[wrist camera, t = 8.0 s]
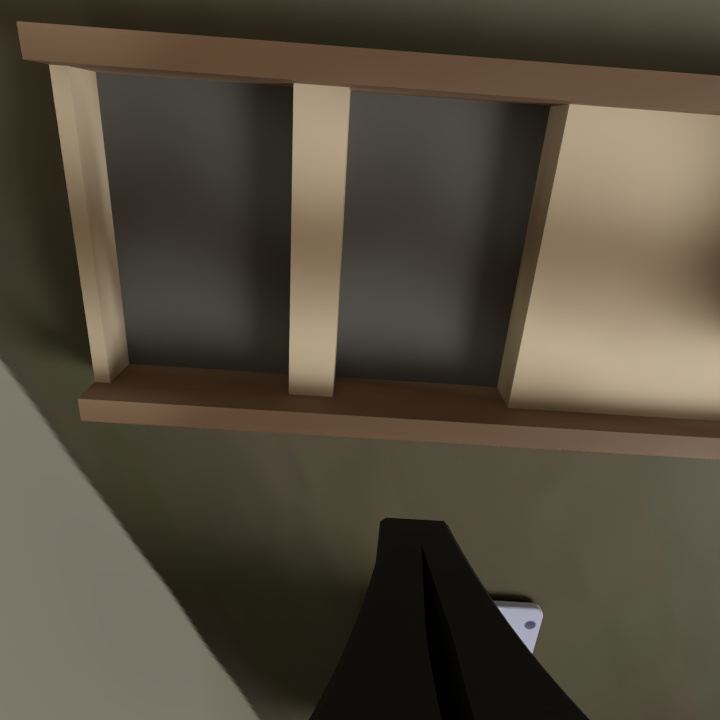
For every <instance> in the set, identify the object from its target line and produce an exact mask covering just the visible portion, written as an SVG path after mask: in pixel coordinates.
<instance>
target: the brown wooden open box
mask: <svg viewBox="0 0 720 720" xmlns="http://www.w3.org/2000/svg"><path fill="white" fill-rule="evenodd" d="M16 22H17V28H18V34H19V41H20V47H21V53H22V59H24V60H29V61H34V62H39V63H44V64H48V65H49V68H50V75H51V82H52V89H53V96H54V103H55V109H56V116H57V123H58V130H59V137H60V144H61V151H62V158H63V164H64V171H65V178H66V185H67V192H68V199H69V206H70V213H71V219H72V226H73V233H74V240H75V247H76V254H77V261H78V268H79V274H80V281H81V288H82V295H83V302H84V309H85V316H86V323H87V329H88V336H89V343H90V350H91V357H92V364H93V371H94V378H95V383H94V384H93V385H92V386H91V387H89V388H88V389H87V390H86V391H85V392H84V393H83V394H82V395H81V396H80V397H79V398H78V404H79V410H80V416H81V421H93V422H110V423H126V424H143V425H159V426H176V427H192V428H208V429H225V430H241V431H258V432H274V433H291V434H307V435H323V436H340V437H356V438H373V439H389V440H406V441H422V442H439V443H455V444H471V445H488V446H504V447H521V448H537V449H554V450H570V451H586V452H603V453H619V454H636V455H652V456H669V457H685V458H702V459H718V460H720V76H717V75H704V74H692V73H679V72H666V71H653V70H640V69H627V68H614V67H601V66H588V65H576V64H563V63H550V62H537V61H524V60H511V59H498V58H485V57H472V56H459V55H447V54H434V53H421V52H408V51H395V50H382V49H369V48H356V47H343V46H331V45H318V44H305V43H292V42H279V41H266V40H253V39H240V38H227V37H215V36H202V35H189V34H176V33H163V32H150V31H137V30H124V29H111V28H99V27H86V26H73V25H60V24H47V23H34V22H21V21H16Z"/></svg>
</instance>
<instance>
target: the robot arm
mask: <svg viewBox="0 0 720 720" xmlns="http://www.w3.org/2000/svg"><path fill="white" fill-rule="evenodd" d="M542 618H543V613H542V610H541V608H540V606H539V605H538V604H536V603H528V602H510V601H493V599H492V598H491V596H490V595H489V593H488V592H487V591H486V589H485V588H484V586H483V585H482V583H481V581H480V580H479V578H478V577H477V575H476V574H475V572H474V570H473V569H472V567H471V565H470V564H469V562H468V560H467V559H466V557H465V555H464V554H463V552H462V550H461V549H460V547H459V545H458V543H457V541H456V540H455V538H454V536H453V534H452V532H451V530H450V529H449V527H448V525H447V524H446V523H445V522H444V521H433V520H416V519H398V518H385V519H384V520H382V521H381V522H380V528H379V537H378V547H377V557H376V563H375V567H374V571H373V574H372V578H371V581H370V584H369V588H368V591H367V594H366V597H365V600H364V603H363V605H362V608H361V611H360V613H359V616H358V618H357V621H356V624H355V626H354V629H353V631H352V634H351V636H350V639H349V641H348V643H347V645H346V648H345V650H344V652H343V654H342V657H341V659H340V661H339V663H338V665H337V667H336V669H335V671H334V673H333V675H332V677H331V679H330V681H329V683H328V685H327V687H326V689H325V691H324V693H323V695H322V697H321V699H320V700H319V702H318V704H317V706H316V708H315V710H314V712H313V714H312V715H311V717H310V719H309V720H589V719H588V718H587V716H586V715H585V714H584V713H583V712H582V711H581V710H580V709H579V708H578V707H577V706H576V704H575V703H574V702H573V701H572V700H571V699H570V698H569V697H568V696H567V695H566V693H565V692H564V691H563V690H562V689H561V688H560V687H559V685H558V684H557V683H556V682H555V681H554V680H553V678H552V677H551V676H550V675H549V674H548V673H547V671H546V670H545V669H544V668H543V667H542V665H541V664H540V663H539V662H538V660H537V659H536V658H535V657H534V655H533V654H532V653H533V650H534V646H535V643H536V639H537V636H538V632H539V629H540V625H541V621H542ZM528 621H529V622H528Z"/></svg>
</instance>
